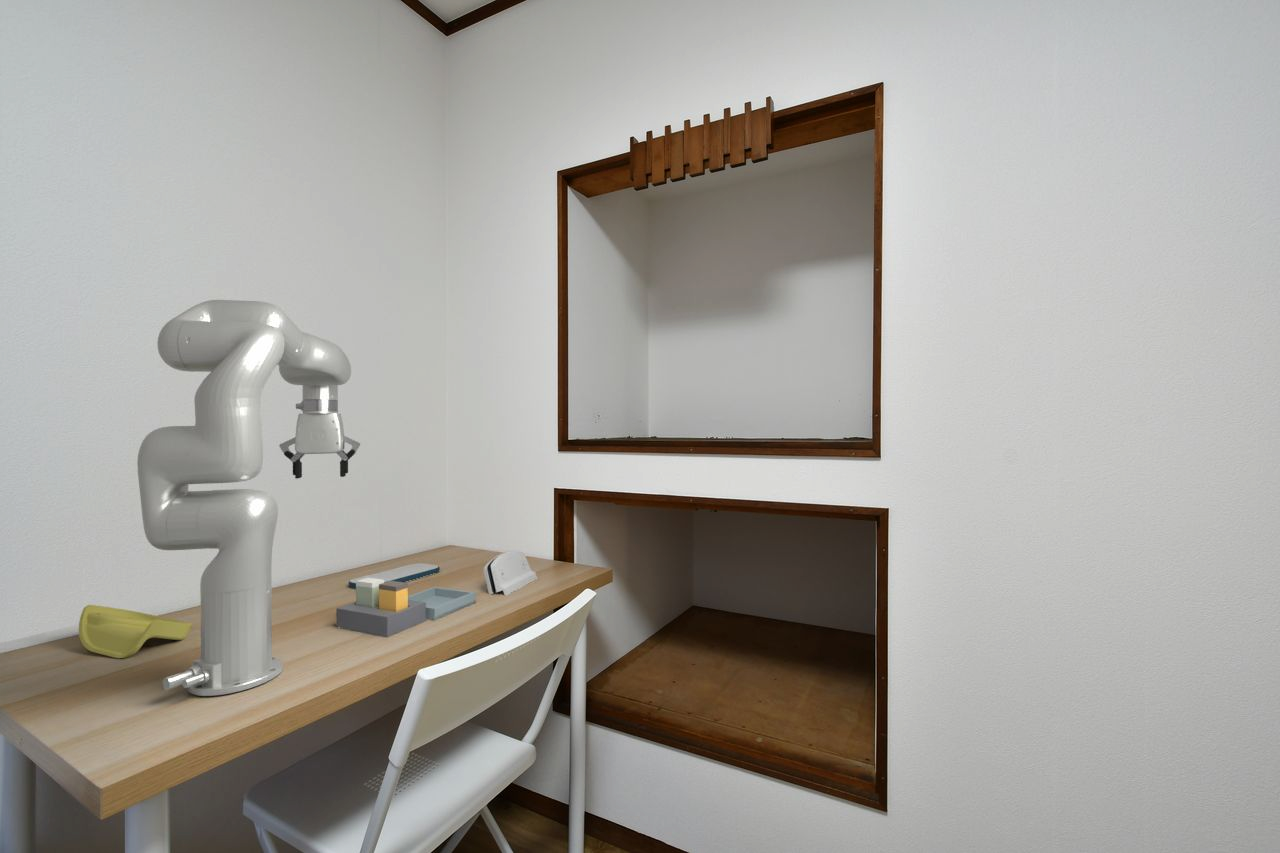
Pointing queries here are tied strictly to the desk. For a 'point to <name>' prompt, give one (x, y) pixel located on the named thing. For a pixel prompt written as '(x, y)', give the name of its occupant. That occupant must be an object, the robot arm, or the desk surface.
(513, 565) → the grey slotted holder
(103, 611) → the plastic component
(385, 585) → the block
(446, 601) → the parts tray
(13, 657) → the desk surface
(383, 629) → the block
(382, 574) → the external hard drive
